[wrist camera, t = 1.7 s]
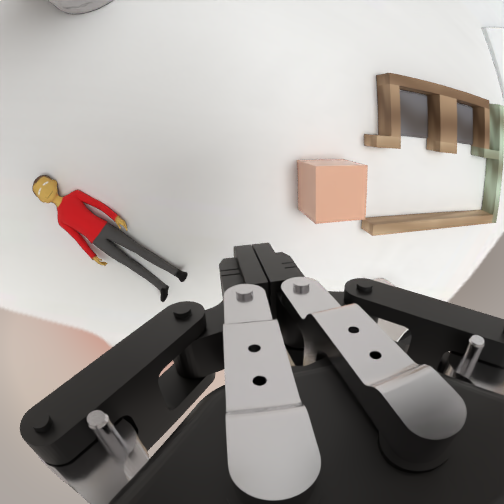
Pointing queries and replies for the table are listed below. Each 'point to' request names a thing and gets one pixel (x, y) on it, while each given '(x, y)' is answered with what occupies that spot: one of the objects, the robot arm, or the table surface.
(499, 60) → the external hard drive
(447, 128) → the brown frame
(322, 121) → the table surface
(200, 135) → the table surface
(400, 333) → the drinking glass
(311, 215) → the clay block
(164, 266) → the person figure
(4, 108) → the table surface
